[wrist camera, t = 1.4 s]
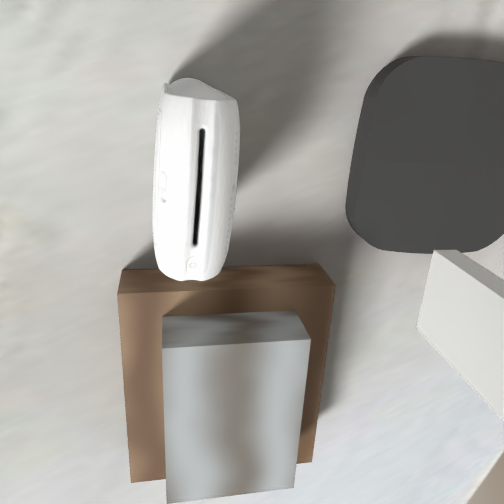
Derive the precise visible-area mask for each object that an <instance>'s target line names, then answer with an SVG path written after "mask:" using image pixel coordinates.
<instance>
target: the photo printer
mask: <svg viewBox="0 0 504 504" xmlns="http://www.w3.org/2000/svg"><path fill="white" fill-rule="evenodd" d="M239 149H240V118H239V110H238V104H237V100H236V99H234V98H233V97H231V96H229V95H227V94H225V93H223V92H222V91H219V90H217V89H214V88H212V87H211V86H209V85H207V84H205V83H204V82H202V81H200V80H197V79H193V78H182V79H178V80H176V81H174V82H173V83H171V84H166V83H165V84H164V85H163V89H162V92H161V97H160V103H159V112H158V120H157V128H156V143H155V160H154V182H153V240H154V250H155V257H156V260H157V264H158V267H159V269H160V270H161V271H162V272H163V273H164V274H165V275H166V276H168V277H170V278H173V279H175V280H178V281H185V280H198V281H205V280H208V279H211V278H213V277H215V276H216V275H218V274H219V273H220V271H221V269H222V267H223V264H224V262H225V259H226V256H227V253H228V248H229V243H230V237H231V231H232V225H233V218H234V209H235V200H236V190H237V179H238V166H239Z"/></svg>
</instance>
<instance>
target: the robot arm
mask: <svg viewBox="0 0 504 504" xmlns="http://www.w3.org/2000/svg"><path fill="white" fill-rule="evenodd" d="M416 329H417V330H418V331H419V332H420V333H421V334H422V335H423V336H424V337H425V338H426V340H427V341H428V342H429V343H430V344H431V345H432V346H433V347H434V348H435V349H436V350H437V351H438V352H439V353H440V355H441V356H442V357H443V358H444V359H445V360H446V361H447V362H448V363H449V364H450V365H451V366H452V367H453V368H454V369H455V371H456V372H457V373H458V374H459V375H460V376H461V377H462V378H463V379H464V380H465V381H466V382H467V383H468V384H469V385H470V387H471V388H472V389H473V390H474V391H475V392H476V393H477V394H478V395H479V396H480V397H481V398H482V399H483V400H484V402H485V403H486V404H487V405H488V406H489V407H490V408H491V409H492V410H493V411H494V412H495V413H496V414H497V415H498V416H499V418H500V419H501V420H502V421H503V422H504V280H503V279H502V278H500V277H498V276H497V275H495V274H494V273H492V272H491V271H489V270H487V269H486V268H484V267H483V266H481V265H480V264H478V263H477V262H475V261H473V260H472V259H470V258H469V257H467V256H466V255H464V254H463V253H461V252H459V251H458V250H434V252H433V256H432V260H431V265H430V269H429V274H428V278H427V282H426V287H425V291H424V296H423V300H422V305H421V309H420V313H419V318H418V322H417V327H416Z"/></svg>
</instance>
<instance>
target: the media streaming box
mask: <svg viewBox="0 0 504 504" xmlns="http://www.w3.org/2000/svg"><path fill="white" fill-rule="evenodd" d="M346 215H347V219H348V221H349V223H350V225H351V227H352V228H353V230H354V231H355V232H356V233H357V234H358V235H360V236H361V237H362V238H363V239H364V240H365V241H367V242H368V243H369V244H370V245H372V246H374V247H376V248H378V249H381V250H387V251H396V252H406V253H424V254H433V252H434V250H458V251H459V252H461V253H464V252H473V251H478V250H480V249H483V248H485V247H487V246H488V245H490V244H492V243H493V242H494V241H496V240H497V239H498V238H500V237H501V236H502V235H503V234H504V63H500V62H493V61H486V60H477V59H467V58H454V57H434V56H416V57H405V58H401V59H399V60H396V61H394V62H392V63H390V64H389V65H387V66H386V67H385V68H384V69H382V70H381V71H380V72H379V73H378V74H377V75H376V77H375V78H374V79H373V81H372V82H371V84H370V85H369V87H368V89H367V91H366V94H365V97H364V101H363V105H362V110H361V114H360V119H359V124H358V129H357V134H356V139H355V144H354V150H353V156H352V162H351V168H350V175H349V182H348V189H347V198H346Z"/></svg>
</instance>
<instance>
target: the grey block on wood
mask: <svg viewBox="0 0 504 504" xmlns="http://www.w3.org/2000/svg"><path fill="white" fill-rule="evenodd" d="M335 286H336V285H335V284H334V283H333V282H332V280H331V279H330V278H329V276H328V275H327V274H326V273H325V271H324V270H323V269H322V268H321V266H320V265H319V264H309V265H275V266H240V267H222V269H221V271H220V273H219V274H218V275H216V276H215V277H213V278H211V279H208V280H205V281H198V280H185V281H178V280H175V279H173V278H170V277H168V276H166V275H165V274H164V273H163V272H162V271H161V270H160V269H137V270H122V273H121V278H120V283H119V288H118V293H117V296H118V310H119V324H120V338H121V352H122V366H123V379H124V393H125V407H126V421H127V435H128V449H129V463H130V476H131V483H134V482H143V481H152V480H160V479H166V495H167V504H169V503H177V502H185V501H193V500H201V499H209V498H217V497H225V496H232V495H240V494H248V493H256V492H264V491H272V490H280V489H288V488H294V480H295V471H296V464H299V463H307V462H312V456H313V449H314V441H315V434H316V427H317V419H318V412H319V404H320V397H321V389H322V382H323V375H324V367H325V360H326V352H327V345H328V338H329V330H330V323H331V315H332V308H333V300H334V293H335Z"/></svg>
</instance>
